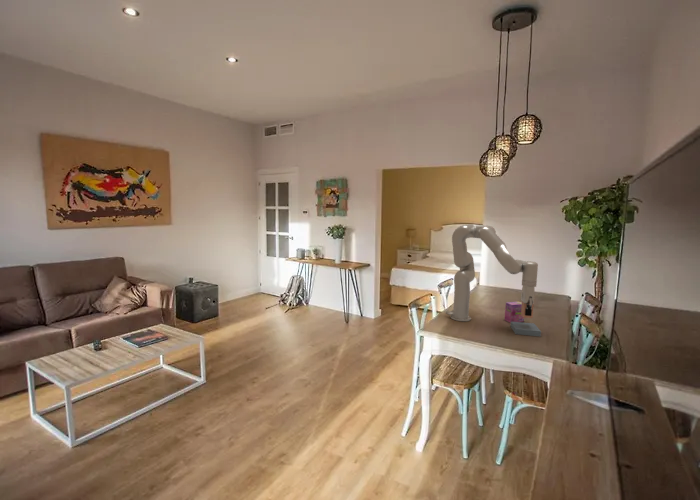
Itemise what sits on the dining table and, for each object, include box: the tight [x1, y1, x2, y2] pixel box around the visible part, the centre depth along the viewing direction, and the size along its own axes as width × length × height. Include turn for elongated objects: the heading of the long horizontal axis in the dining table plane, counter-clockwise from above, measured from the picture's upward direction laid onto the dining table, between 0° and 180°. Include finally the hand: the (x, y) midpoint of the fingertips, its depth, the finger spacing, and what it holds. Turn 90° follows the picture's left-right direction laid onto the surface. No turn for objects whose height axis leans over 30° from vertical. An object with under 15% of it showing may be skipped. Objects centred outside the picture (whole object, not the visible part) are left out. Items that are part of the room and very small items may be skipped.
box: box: [503, 301, 525, 324], centre depth 229 cm, size 10×6×12 cm, turn 105°
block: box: [521, 301, 534, 319], centre depth 209 cm, size 5×5×8 cm
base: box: [510, 322, 542, 337], centre depth 210 cm, size 13×14×3 cm
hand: (526, 313), depth 209 cm, fingers closed on block, 5 cm apart
